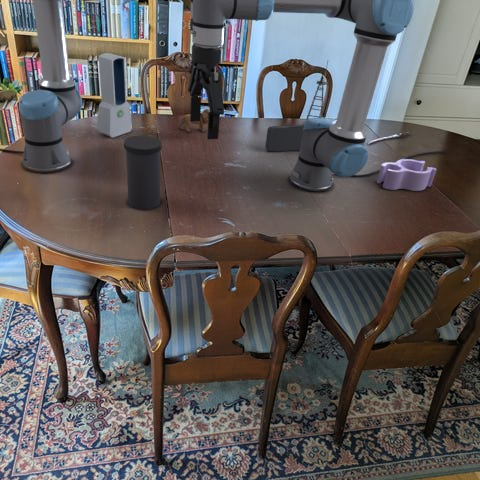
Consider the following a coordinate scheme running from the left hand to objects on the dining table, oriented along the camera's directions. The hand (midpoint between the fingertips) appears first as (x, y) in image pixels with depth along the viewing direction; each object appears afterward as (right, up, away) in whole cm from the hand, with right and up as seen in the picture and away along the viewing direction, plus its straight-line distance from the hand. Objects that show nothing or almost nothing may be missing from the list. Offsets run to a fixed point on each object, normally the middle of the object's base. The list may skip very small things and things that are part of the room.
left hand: (199, 89), depth 153 cm
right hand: (+4, -20, -28) cm, 35 cm away
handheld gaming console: (+34, -13, +38) cm, 53 cm away
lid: (-14, -22, -20) cm, 33 cm away
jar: (-16, -38, -9) cm, 42 cm away
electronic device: (-37, -6, +36) cm, 53 cm away
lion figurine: (-6, -2, +47) cm, 48 cm away
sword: (+82, -4, +60) cm, 101 cm away
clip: (+74, -29, +20) cm, 82 cm away
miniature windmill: (+48, +4, +65) cm, 81 cm away
